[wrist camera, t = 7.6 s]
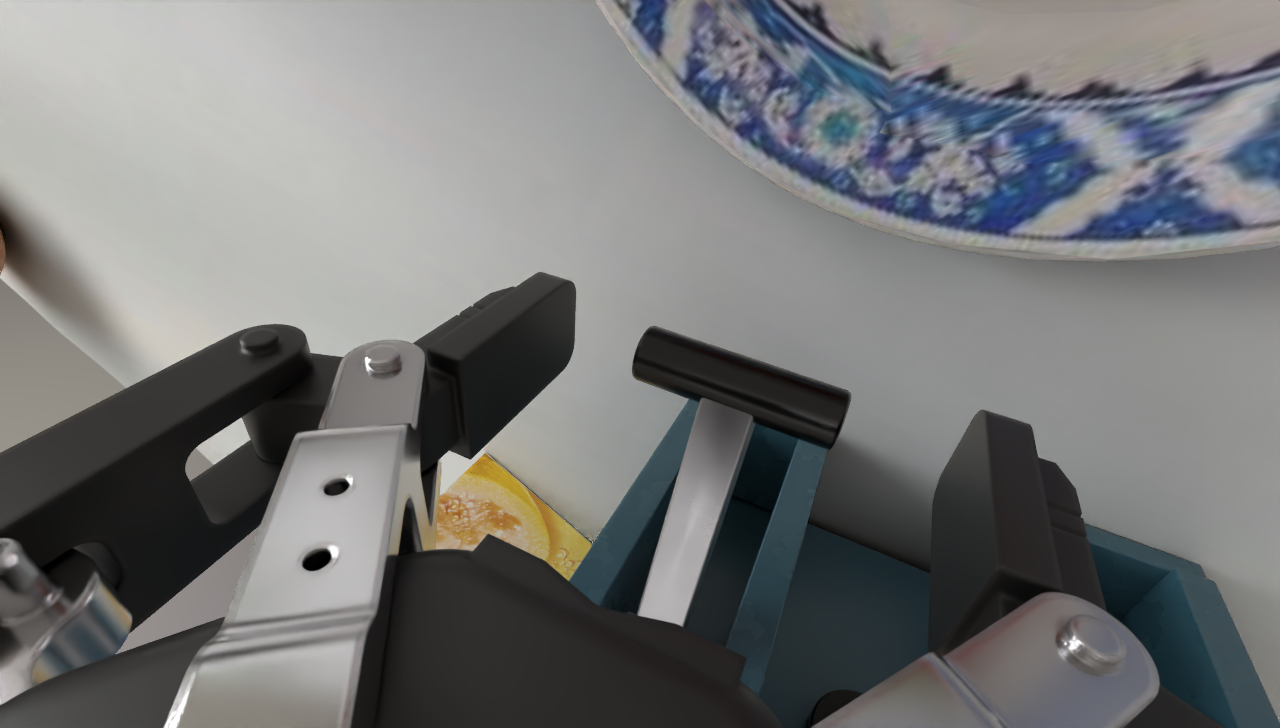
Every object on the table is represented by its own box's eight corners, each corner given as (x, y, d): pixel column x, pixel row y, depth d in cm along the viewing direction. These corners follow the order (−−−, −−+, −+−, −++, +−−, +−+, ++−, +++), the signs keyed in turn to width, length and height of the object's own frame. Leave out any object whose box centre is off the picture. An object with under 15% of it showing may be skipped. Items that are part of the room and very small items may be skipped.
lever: (668, 317, 13) (627, 332, 11) (853, 379, 12) (851, 409, 10) (572, 672, 16) (526, 740, 14) (713, 750, 15) (686, 838, 13)
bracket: (688, 376, 22) (485, 665, 12) (848, 432, 20) (754, 820, 10) (672, 459, 24) (492, 752, 15) (812, 516, 22) (711, 889, 13)
